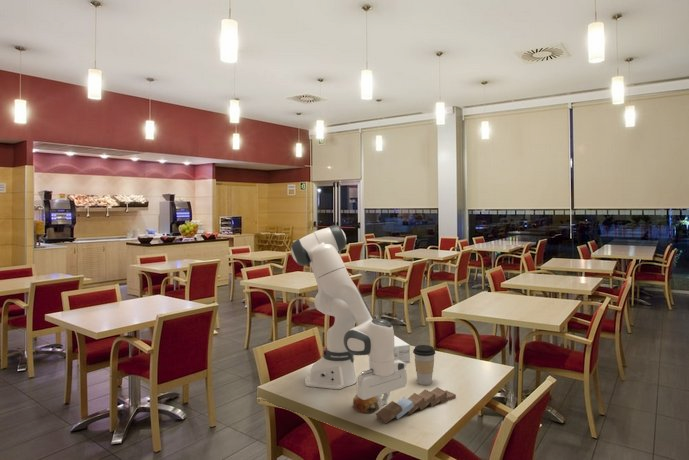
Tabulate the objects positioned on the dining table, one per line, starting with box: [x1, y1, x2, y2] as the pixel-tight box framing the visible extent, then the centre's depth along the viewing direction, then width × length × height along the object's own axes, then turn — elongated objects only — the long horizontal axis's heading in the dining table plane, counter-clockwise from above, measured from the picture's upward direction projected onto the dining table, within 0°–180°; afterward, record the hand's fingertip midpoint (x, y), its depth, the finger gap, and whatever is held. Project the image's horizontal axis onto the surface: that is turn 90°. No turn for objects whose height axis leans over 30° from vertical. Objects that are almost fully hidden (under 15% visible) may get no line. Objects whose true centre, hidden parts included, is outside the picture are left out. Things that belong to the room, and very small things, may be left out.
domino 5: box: [427, 387, 447, 407], centre depth 172 cm, size 2×5×8 cm
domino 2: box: [394, 396, 414, 420], centre depth 162 cm, size 2×5×8 cm
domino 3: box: [406, 392, 425, 416], centre depth 165 cm, size 2×5×8 cm
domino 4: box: [416, 389, 436, 411], centre depth 168 cm, size 2×5×8 cm
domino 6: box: [438, 390, 457, 404], centre depth 175 cm, size 2×5×8 cm
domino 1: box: [375, 400, 402, 425], centre depth 159 cm, size 2×5×8 cm
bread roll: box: [352, 393, 380, 414], centre depth 168 cm, size 10×10×8 cm
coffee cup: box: [412, 344, 436, 386], centre depth 191 cm, size 9×9×15 cm
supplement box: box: [393, 334, 411, 364], centre depth 221 cm, size 17×13×9 cm
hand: (382, 405), depth 157 cm, fingers closed
